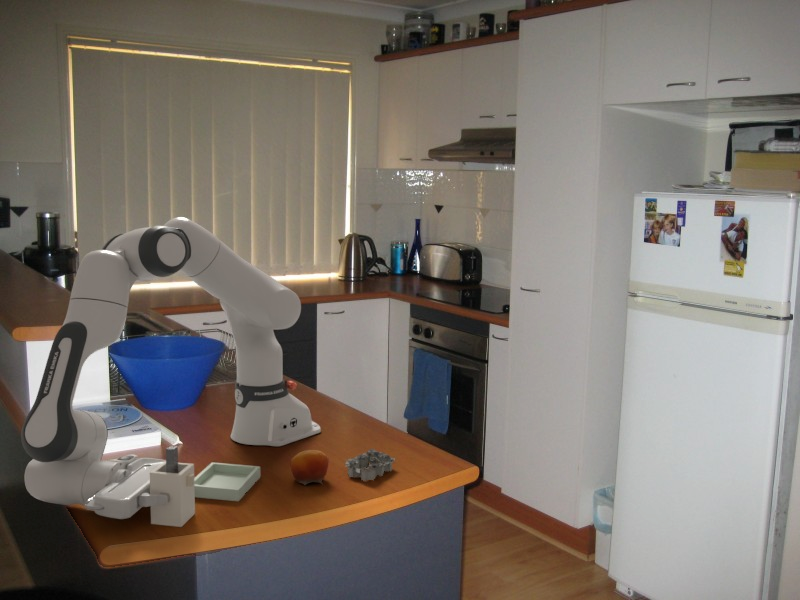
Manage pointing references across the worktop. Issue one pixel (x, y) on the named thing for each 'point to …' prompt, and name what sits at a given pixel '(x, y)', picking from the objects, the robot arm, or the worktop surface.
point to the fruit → (309, 466)
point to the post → (172, 459)
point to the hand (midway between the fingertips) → (177, 491)
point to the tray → (225, 481)
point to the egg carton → (376, 467)
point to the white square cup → (173, 494)
